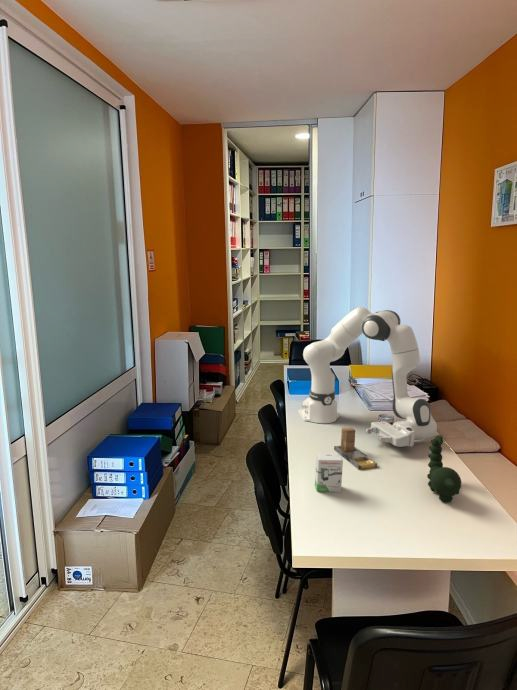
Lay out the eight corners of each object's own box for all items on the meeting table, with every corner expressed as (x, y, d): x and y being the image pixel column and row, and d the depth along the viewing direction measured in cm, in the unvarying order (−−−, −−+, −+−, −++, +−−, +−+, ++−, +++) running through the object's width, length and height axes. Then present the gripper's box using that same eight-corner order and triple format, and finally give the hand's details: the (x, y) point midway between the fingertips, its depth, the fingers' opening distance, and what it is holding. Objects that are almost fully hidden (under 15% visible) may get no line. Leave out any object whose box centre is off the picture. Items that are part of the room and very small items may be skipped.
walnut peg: (340, 451, 206) (341, 427, 204) (349, 449, 207) (350, 426, 205) (345, 454, 202) (346, 431, 200) (354, 453, 203) (355, 430, 201)
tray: (334, 449, 207) (334, 446, 207) (351, 447, 210) (351, 444, 209) (358, 469, 188) (359, 466, 188) (377, 467, 191) (377, 463, 191)
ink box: (316, 492, 171) (317, 459, 169) (314, 485, 176) (315, 453, 173) (341, 492, 171) (343, 459, 169) (339, 485, 176) (340, 453, 174)
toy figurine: (419, 480, 184) (435, 509, 159) (422, 430, 182) (439, 451, 157) (446, 482, 183) (466, 511, 158) (449, 431, 181) (470, 453, 156)
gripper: (388, 416, 221) (360, 419, 216) (416, 433, 202) (387, 436, 197) (387, 430, 222) (359, 433, 218) (415, 447, 203) (386, 451, 199)
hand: (373, 435), depth 207 cm, fingers open, 8 cm apart
